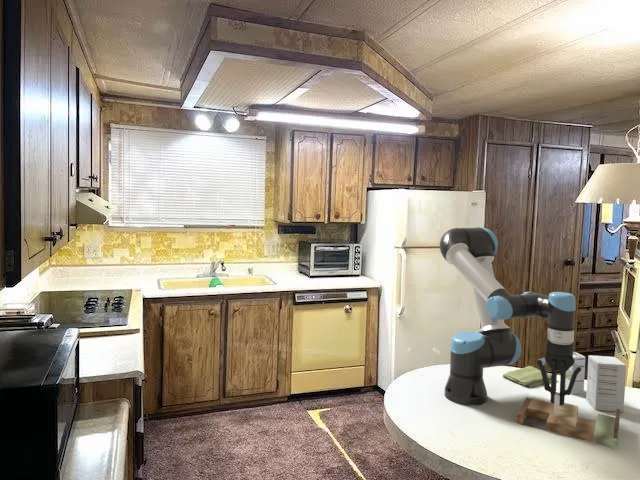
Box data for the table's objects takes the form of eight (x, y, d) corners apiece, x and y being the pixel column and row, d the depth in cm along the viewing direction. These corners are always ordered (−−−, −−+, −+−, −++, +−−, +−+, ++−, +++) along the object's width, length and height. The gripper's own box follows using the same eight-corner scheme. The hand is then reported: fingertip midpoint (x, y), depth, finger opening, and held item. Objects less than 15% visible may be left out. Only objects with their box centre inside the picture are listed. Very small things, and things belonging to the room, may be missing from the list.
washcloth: (500, 378, 193) (501, 370, 193) (529, 371, 202) (530, 364, 201) (527, 389, 182) (528, 381, 182) (557, 382, 190) (558, 374, 190)
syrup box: (584, 393, 178) (586, 356, 176) (570, 394, 177) (572, 357, 175) (574, 387, 183) (576, 351, 182) (560, 388, 182) (562, 352, 181)
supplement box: (624, 413, 162) (627, 365, 160) (595, 410, 163) (597, 363, 162) (613, 401, 171) (615, 356, 169) (585, 399, 173) (587, 354, 171)
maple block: (557, 422, 147) (558, 407, 147) (560, 416, 152) (560, 401, 151) (575, 427, 145) (576, 411, 144) (577, 421, 149) (578, 406, 148)
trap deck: (516, 422, 154) (516, 405, 153) (525, 405, 167) (526, 389, 166) (616, 448, 138) (618, 429, 137) (619, 427, 151) (620, 409, 151)
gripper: (535, 340, 149) (532, 412, 151) (582, 348, 142) (578, 423, 143) (540, 335, 155) (537, 404, 157) (584, 342, 148) (581, 414, 150)
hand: (556, 413), depth 150 cm, fingers closed
